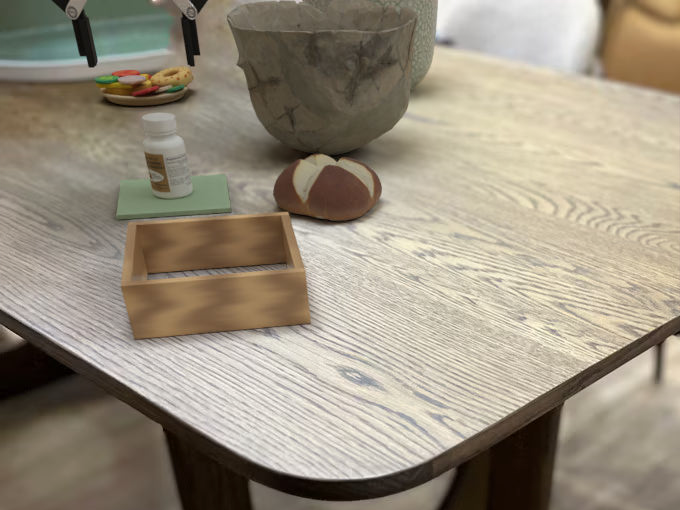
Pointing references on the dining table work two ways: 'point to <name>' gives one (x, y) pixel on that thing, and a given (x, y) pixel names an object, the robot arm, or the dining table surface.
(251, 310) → the compartment
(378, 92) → the bowl
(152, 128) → the pill bottle
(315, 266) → the dining table surface
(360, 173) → the bread
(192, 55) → the robot arm
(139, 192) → the mat
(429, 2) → the planter
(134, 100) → the toy food set
